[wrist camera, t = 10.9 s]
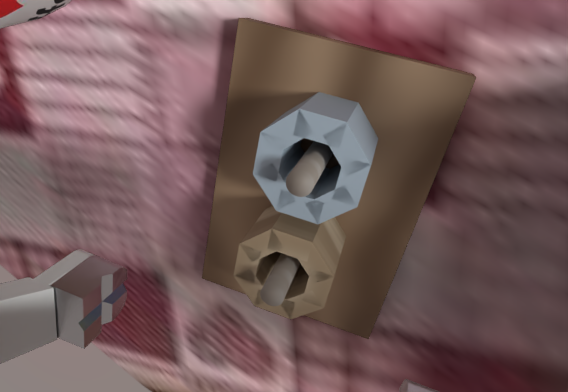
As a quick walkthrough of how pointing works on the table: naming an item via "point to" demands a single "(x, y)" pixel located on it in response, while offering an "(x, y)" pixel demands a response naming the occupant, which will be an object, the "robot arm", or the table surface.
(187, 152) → the table surface
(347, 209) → the loose gear
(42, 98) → the table surface
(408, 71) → the gear board
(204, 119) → the table surface
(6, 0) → the cup
